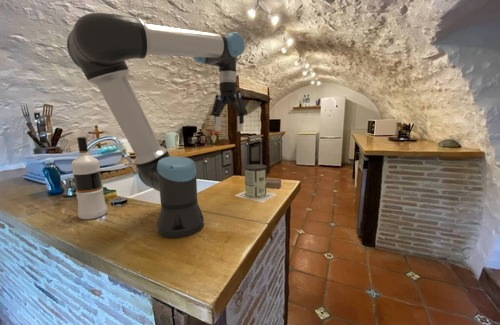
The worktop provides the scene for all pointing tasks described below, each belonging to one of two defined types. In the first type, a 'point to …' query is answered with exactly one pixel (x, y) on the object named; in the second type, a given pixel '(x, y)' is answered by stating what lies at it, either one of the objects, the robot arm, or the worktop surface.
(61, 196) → the worktop surface
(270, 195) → the letter
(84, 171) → the vodka
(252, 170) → the coffee can
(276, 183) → the walnut block
